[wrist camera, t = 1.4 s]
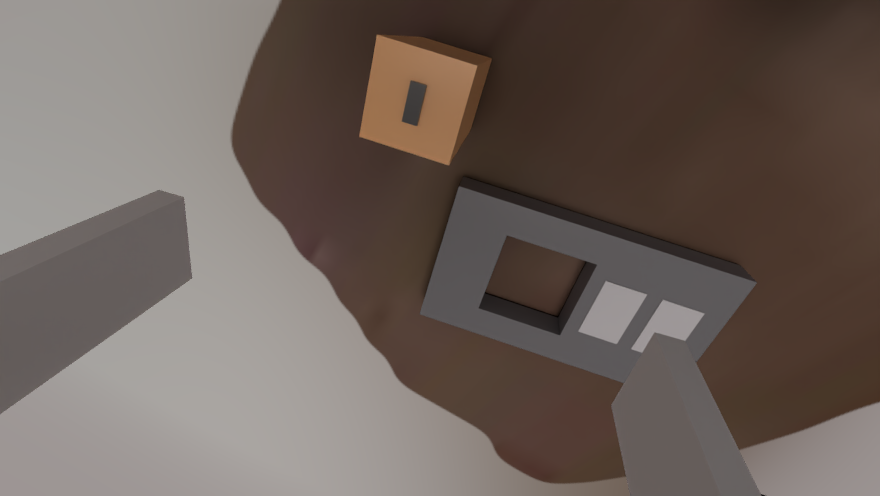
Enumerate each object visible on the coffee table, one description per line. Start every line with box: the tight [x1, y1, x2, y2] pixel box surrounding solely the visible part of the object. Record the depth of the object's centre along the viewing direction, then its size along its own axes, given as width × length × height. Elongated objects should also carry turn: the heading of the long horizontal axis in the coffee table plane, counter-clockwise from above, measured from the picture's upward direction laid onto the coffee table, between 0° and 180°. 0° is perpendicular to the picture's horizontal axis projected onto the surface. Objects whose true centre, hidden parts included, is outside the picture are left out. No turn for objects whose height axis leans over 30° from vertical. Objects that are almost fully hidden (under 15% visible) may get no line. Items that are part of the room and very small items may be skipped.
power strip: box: [420, 176, 757, 383], centre depth 34 cm, size 12×22×3 cm, turn 74°
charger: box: [359, 35, 492, 165], centre depth 25 cm, size 5×5×10 cm
